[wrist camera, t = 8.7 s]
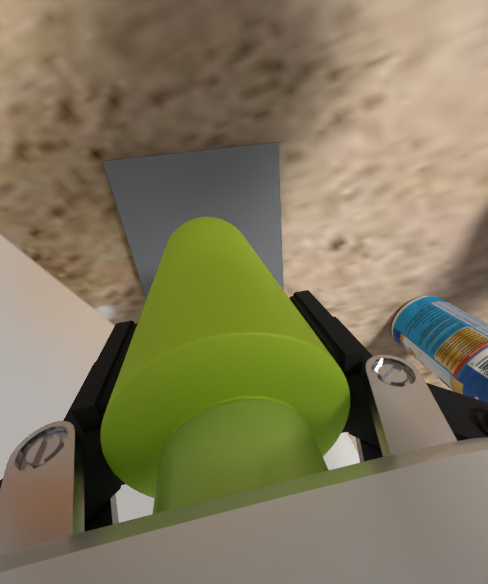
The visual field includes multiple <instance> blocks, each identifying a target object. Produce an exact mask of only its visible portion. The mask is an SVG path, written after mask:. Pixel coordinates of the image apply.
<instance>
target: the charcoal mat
mask: <svg viewBox="0 0 488 584" xmlns="http://www.w3.org/2000/svg"><path fill="white" fill-rule="evenodd" d="M102 162H103V165H104V168H105V171H106V174H107V177H108V180H109V184H110V187H111V190H112V193H113V196H114V199H115V202H116V205H117V209H118V212H119V215H120V218H121V221H122V224H123V227H124V231H125V234H126V237H127V240H128V243H129V246H130V249H131V253H132V256H133V259H134V262H135V265H136V268H137V271H138V275H139V278H140V281H141V284H142V287H143V290H144V293H145V296H146V299H147V297H148V294H149V291H150V288H151V286H152V283H153V280H154V277H155V275H156V272H157V269H158V267H159V264H160V261H161V258H162V256H163V253H164V250H165V248H166V245H167V242H168V240H169V238H170V237H171V235H172V234H173V232H174V231H175V230H176V229H177V228H178V227H179V226H181V225H182V224H184V223H185V222H187V221H189V220H192V219H195V218H200V217H215V218H219V219H222V220H225V221H227V222H229V223H230V224H232V225H233V226H235V227H236V228H237V229H238V230H239V231H240V232H241V233H242V235H243V236H244V237H245V239H246V240H247V241H248V243H249V244H250V245H251V247H252V248H253V250H254V251H255V252H256V254H257V255H258V256H259V258H260V259H261V260H262V262H263V263H264V265H265V266H266V267H267V269H268V270H269V271H270V273H271V274H272V275H273V277H274V278H275V280H276V281H277V282H278V284H279V285H280V286H281V288H282V289H283V262H282V234H281V206H280V179H279V151H278V142H274V143H265V144H256V145H247V146H237V147H228V148H219V149H210V150H201V151H192V152H182V153H173V154H164V155H155V156H146V157H137V158H128V159H118V160H109V161H102ZM283 290H284V289H283Z"/></svg>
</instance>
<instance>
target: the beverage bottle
mask: <svg viewBox="0 0 488 584" xmlns="http://www.w3.org/2000/svg"><path fill="white" fill-rule="evenodd" d="M391 330H392V335H393V338H394V339H395V340H396V342H398V343H399V344H400V345H401V346H402V347H404V348H405V349H406V350H407V351H408V352H410V353H411V354H412V355H413V356H414V357H415V358H416V359H418V360H419V361H420V362H421V363H422V364H423V365H424V366H426V367H427V368H428V369H429V370H430V371H431V372H432V373H433V374H435V375H436V376H437V377H438V378H439V379H440V380H441V381H443V382H444V383H445V384H446V385H447V386H448V387H449V388H450V389H451V390H452V391H453V392H456V393H459V394H462V395H466V396H469V397H472V398H475V399H478V400H481V401H484V402H488V323H486V322H484V321H482V320H480V319H478V318H476V317H474V316H473V315H471V314H469V313H467V312H465V311H463V310H461V309H459V308H457V307H455V306H454V305H452V304H450V303H448V302H447V301H445V300H443V299H441V298H439V297H436V296H422V297H418V298H416V299H414V300H412V301H410V302H408V303H407V304H406V305H405V306H403V307H402V308H401V309H400V311H399V312H398V313H397V315H396V316H395V318H394V320H393V323H392V329H391Z"/></svg>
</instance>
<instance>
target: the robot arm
mask: <svg viewBox="0 0 488 584" xmlns="http://www.w3.org/2000/svg"><path fill="white" fill-rule="evenodd" d="M290 300H291V301H292V303H293V304H294V305H295V307H296V308H297V310H298V311H299V312H300V314H301V315H302V316H303V318H304V319H305V320H306V322H307V323H308V325H309V326H310V327H311V329H312V330H313V331H314V333H315V334H316V335H317V337H318V338H319V340H320V341H321V342H322V344H323V345H324V346H325V348H326V349H327V350H328V352H329V353H330V355H331V356H332V357H333V359H334V360H335V361H336V363H337V364H338V365H339V367H340V368H341V370H342V372H343V373H344V375H345V378H346V380H347V383H348V386H349V391H350V410H349V415H348V419H347V422H346V424H345V427H344V429H343V431H342V433H344V432H349V434H351V435H353V436H355V437H356V442H357V448H358V454H359V459H360V463H356V464H352V465H348V466H344V467H340V468H336V469H332V470H328V471H324V472H320V473H316V474H311V475H307V476H303V477H299V478H295V479H291V480H287V481H283V482H279V483H275V484H271V485H267V486H263V487H259V488H255V489H251V490H247V491H243V492H239V493H235V494H231V495H227V496H223V497H219V498H215V499H211V500H207V501H204V502H200V503H196V504H192V505H188V506H184V507H180V508H176V509H172V510H168V511H164V512H160V513H156V514H152V515H149V516H145V517H141V518H137V519H133V520H129V521H125V522H121V523H119V522H118V513H117V504H116V496H115V493H116V492H117V491H118V490H119V489H120V488H121V485H124V484H126V483H124V482H123V481H122V480H121V479H120V478H119V477H118V476H117V475H116V474H115V473H114V472H113V471H112V469H111V468H110V466H109V465H108V463H107V461H106V459H105V457H104V454H103V451H102V447H101V426H102V421H103V417H104V414H105V411H106V408H107V405H108V403H109V400H110V397H111V395H112V392H113V389H114V386H115V384H116V381H117V378H118V375H119V373H120V370H121V367H122V365H123V362H124V359H125V356H126V354H127V351H128V348H129V346H130V343H131V340H132V337H133V335H134V332H135V329H136V326H137V324H138V323H137V324H135V323H134V321H127V322H121V323H117V324H116V325H115V327H114V329H113V331H112V333H111V335H110V337H109V338H108V340H107V342H106V344H105V346H104V348H103V350H102V352H101V353H100V355H99V357H98V359H97V361H96V362H95V363H94V365H93V366H92V368H91V370H90V372H89V374H88V376H87V378H86V379H85V381H84V383H83V385H82V387H81V389H80V391H79V393H78V394H77V396H76V398H75V400H74V402H73V404H72V406H71V407H70V409H69V411H68V413H67V415H66V417H65V419H64V421H58V422H53V423H50V424H48V425H45V426H44V427H41V428H40V429H38V430H36V431H35V432H33V433H32V434H30V435H29V436H28V437H26V438H25V439H24V440H23V441H22V442H21V443H20V444H19V445H18V446H17V448H16V449H15V450H14V452H13V453H12V454H11V456H10V458H9V461H8V463H7V466H6V470H5V473H4V477H3V479H2V480H0V584H488V402H484V401H481V400H478V399H475V398H472V397H469V396H466V395H462V394H459V393H456V392H453V391H450V390H447V389H444V388H441V387H437V386H434V385H431V384H428V383H426V382H425V380H424V378H423V377H422V375H421V373H420V372H419V370H418V369H417V368H416V367H415V366H414V365H412V364H411V363H410V362H408V361H406V360H404V359H402V358H399V357H396V356H391V355H377V356H374V357H373V356H372V355H371V354H370V353H369V352H368V351H367V349H366V348H365V347H364V346H363V345H362V344H361V343H360V342H359V341H358V340H357V339H356V338H355V337H354V336H353V335H352V334H351V332H350V331H349V330H348V329H347V328H346V327H345V326H344V325H343V324H342V323H341V322H340V321H339V320H338V319H337V318H336V317H332V315H331V314H330V313H329V312H328V311H327V310H326V309H325V308H324V307H323V306H322V305H321V303H320V302H319V301H318V300H317V299H316V298H315V297H314V296H313V295H312V294H311V293H310V292H309V291H308V290H306V291H301V292H295V293H294V295H293V296H292V297H290Z"/></svg>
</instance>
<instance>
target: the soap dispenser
mask: <svg viewBox="0 0 488 584" xmlns="http://www.w3.org/2000/svg"><path fill="white" fill-rule="evenodd" d="M349 410H350V391H349V386H348V383H347V380H346V378H345V375H344V373H343V372H342V370H341V368H340V367H339V365H338V364H337V363H336V361H335V360H334V359H333V357H332V356H331V355H330V353H329V352H328V350H327V349H326V348H325V346H324V345H323V344H322V342H321V341H320V340H319V338H318V337H317V335H316V334H315V333H314V331H313V330H312V329H311V327H310V326H309V325H308V323H307V322H306V320H305V319H304V318H303V316H302V315H301V314H300V312H299V311H298V310H297V308H296V307H295V305H294V304H293V303H292V301H291V300H290V299H289V297H288V296H287V295H286V293H285V292H284V290H283V289H282V288H281V286H280V285H279V284H278V282H277V281H276V280H275V278H274V277H273V275H272V274H271V273H270V271H269V270H268V269H267V267H266V266H265V265H264V263H263V262H262V260H261V259H260V258H259V256H258V255H257V254H256V252H255V251H254V250H253V248H252V247H251V245H250V244H249V243H248V241H247V240H246V239H245V237H244V236H243V235H242V233H241V232H240V231H239V230H238V229H237V228H236V227H235V226H233V225H232V224H230V223H229V222H227V221H225V220H222V219H219V218H215V217H200V218H195V219H192V220H189V221H187V222H185V223H184V224H182V225H181V226H179V227H178V228H177V229H176V230H175V231H174V232H173V234H172V235H171V237H170V238H169V240H168V242H167V245H166V248H165V250H164V253H163V256H162V258H161V261H160V264H159V267H158V269H157V272H156V275H155V277H154V280H153V283H152V286H151V288H150V291H149V294H148V297H147V299H146V302H145V305H144V307H143V310H142V313H141V316H140V318H139V321H138V324H137V326H136V329H135V332H134V335H133V337H132V340H131V343H130V346H129V348H128V351H127V354H126V356H125V359H124V362H123V365H122V367H121V370H120V373H119V375H118V378H117V381H116V384H115V386H114V389H113V392H112V395H111V397H110V400H109V403H108V405H107V408H106V411H105V414H104V417H103V421H102V426H101V447H102V451H103V454H104V457H105V459H106V461H107V463H108V465H109V466H110V468H111V469H112V471H113V472H114V473H115V474H116V475H117V476H118V477H119V478H120V479H121V480H122V481H123V482H124V483H126V484H127V485H128V486H130V487H131V488H133V489H135V490H137V491H138V492H140V493H143V494H145V495H147V496H150V497H153V498H155V500H154V508H153V514H156V513H160V512H164V511H168V510H172V509H176V508H180V507H184V506H188V505H192V504H196V503H200V502H204V501H207V500H211V499H215V498H219V497H223V496H227V495H231V494H235V493H239V492H243V491H247V490H251V489H255V488H259V487H263V486H267V485H271V484H275V483H279V482H283V481H287V480H291V479H295V478H299V477H303V476H307V475H311V474H316V473H320V472H324V471H328V468H327V465H326V463H325V461H324V459H323V456H324V455H325V454H326V453H327V452H328V451H329V450H330V449H331V448H332V446H333V445H334V444H335V442H336V441H337V439H338V438H339V436H340V435H341V433H342V431H343V429H344V427H345V424H346V422H347V419H348V415H349Z"/></svg>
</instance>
